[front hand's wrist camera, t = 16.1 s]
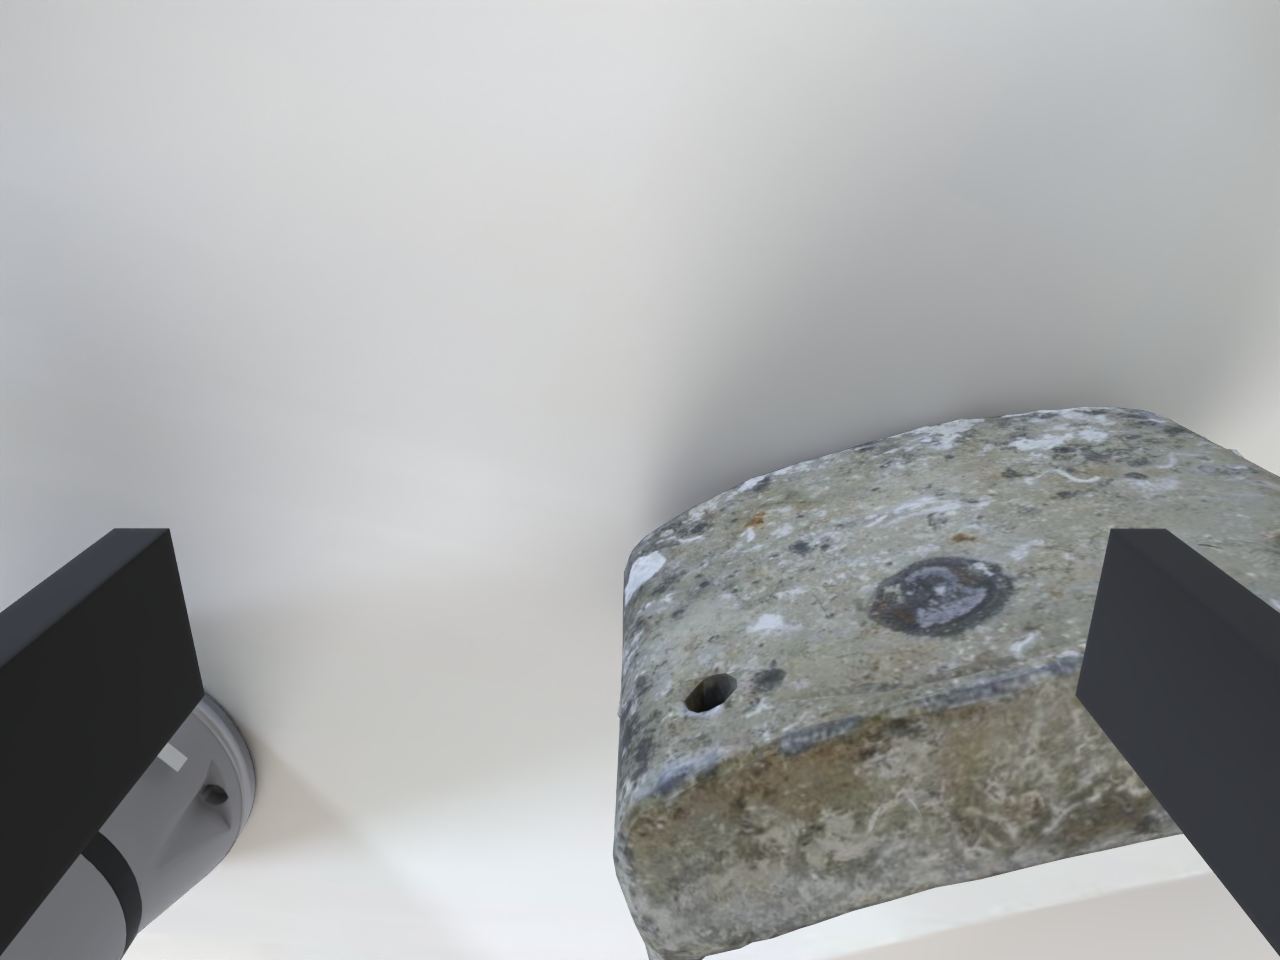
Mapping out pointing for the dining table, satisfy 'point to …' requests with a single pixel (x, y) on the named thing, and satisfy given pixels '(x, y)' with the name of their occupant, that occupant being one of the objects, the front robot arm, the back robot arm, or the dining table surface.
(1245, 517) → the concrete block
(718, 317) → the dining table surface
